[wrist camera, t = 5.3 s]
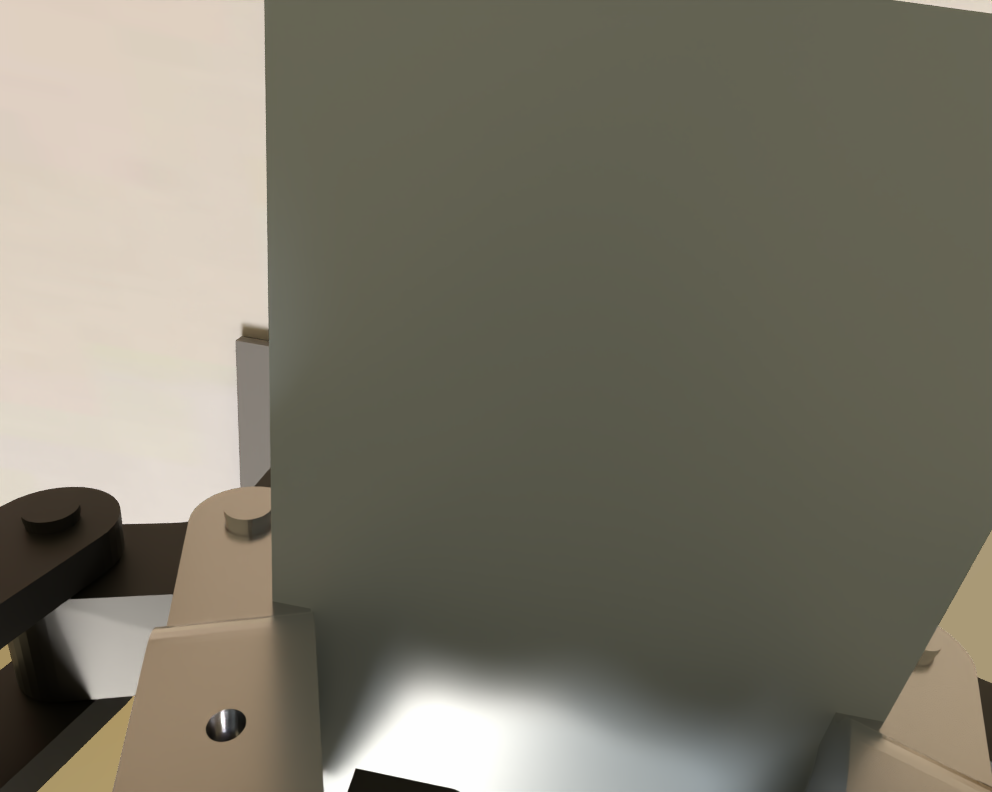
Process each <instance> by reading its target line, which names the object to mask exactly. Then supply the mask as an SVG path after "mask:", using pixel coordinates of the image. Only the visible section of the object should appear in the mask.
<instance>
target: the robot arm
mask: <svg viewBox="0 0 992 792" xmlns="http://www.w3.org/2000/svg"><path fill="white" fill-rule="evenodd" d="M7 644H8V646H9V650H10V655H11V659H12V662H10V663H9V664H8V665H6V666H5V667H4V668H2V669H1V670H0V792H37V791H38V790H39V789H40V788H41V787H42V786H43V785H44V784H45V783H46V782H47V781H48V780H49V779H50V778H51V777H52V776H53V775H54V774H55V773H56V772H57V771H58V770H59V769H60V768H61V767H62V766H63V765H64V764H66V763H67V762H68V761H69V760H70V759H71V757H73V756H74V755H75V754H76V753H77V752H78V751H79V750H80V749H81V748H82V747H83V746H84V745H85V744H86V743H87V742H88V741H89V740H90V739H91V738H92V737H93V736H94V735H95V734H96V733H97V732H98V731H99V730H100V729H101V728H102V727H103V726H104V725H105V724H106V723H107V722H108V721H109V720H110V719H111V718H112V717H113V716H114V715H115V714H116V713H117V712H118V711H120V710H121V708H123V707H124V706H125V705H126V704H127V702H128V701H129V700H130V699H131V698H132V696H135V698H134V702H133V707H132V711H131V715H130V719H129V724H128V728H127V732H126V737H125V741H124V745H123V749H122V753H121V758H120V762H119V766H118V771H117V775H116V779H115V783H114V788H113V792H324V785H323V766H322V748H321V730H320V712H319V693H318V675H317V657H316V638H315V621H314V612H313V611H311V609H310V608H305V607H300V606H294V605H289V604H284V603H279V602H274V601H272V541H271V467H270V469H269V470H268V471H267V472H266V473H265V474H264V476H263V477H262V478H261V479H260V480H259V481H258V482H257V484H256V485H255V486H254V487H241V488H235V489H231V490H227V491H223V492H221V493H218V494H216V495H213V496H212V497H210V498H208V499H206V500H205V501H203V502H202V503H200V504H199V505H198V506H197V507H196V508H195V509H194V511H193V512H192V514H191V515H190V518H189V521H188V522H182V523H158V524H122V518H121V510H120V506H119V503H118V501H117V500H116V499H115V498H114V497H113V496H111V495H110V494H108V493H106V492H103V491H100V490H97V489H92V488H85V487H62V488H55V489H48V490H44V491H39V492H35V493H32V494H28V495H26V496H23V497H20V498H18V499H15V500H13V501H11V502H9V503H7V504H5V505H3V506H1V507H0V649H1V648H3V647H4V646H5V645H7ZM348 792H460V791H458V790H456V789H453V788H448V787H443V786H438V785H434V784H429V783H424V782H419V781H415V780H410V779H405V778H400V777H396V776H391V775H386V774H381V773H377V772H372V771H367V770H362V769H358V768H355V771H354V774H353V777H352V780H351V783H350V786H349V789H348ZM805 792H992V683H990V682H987V681H985V680H983V679H980V678H978V677H977V672H976V668H975V665H974V663H973V661H972V659H971V657H970V656H969V654H968V653H967V652H966V650H965V649H964V648H963V647H962V646H961V645H960V643H959V642H958V641H956V640H955V639H954V638H953V637H952V636H951V635H950V634H949V633H947V632H946V631H945V630H943V629H942V628H941V627H939V626H938V627H937V629H936V630H935V632H934V634H933V636H932V638H931V639H930V641H929V643H928V645H927V647H926V648H925V650H924V652H923V654H922V656H921V657H920V659H919V661H918V663H917V664H916V666H915V668H914V670H913V672H912V673H911V675H910V677H909V679H908V681H907V682H906V684H905V686H904V688H903V689H902V691H901V693H900V695H899V697H898V698H897V700H896V702H895V704H894V706H893V707H892V709H891V711H890V713H889V715H888V716H887V718H886V720H885V722H882V721H877V720H872V719H867V718H862V717H857V716H852V715H847V714H842V713H837V712H835V714H834V716H833V718H832V720H831V722H830V724H829V726H828V728H827V730H826V732H825V734H824V736H823V738H822V740H821V742H820V744H819V746H818V751H817V756H816V760H815V764H814V768H813V771H812V774H811V777H810V780H809V783H808V786H807V788H806V791H805Z"/></svg>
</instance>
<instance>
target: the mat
mask: <svg viewBox="0 0 992 792" xmlns="http://www.w3.org/2000/svg"><path fill="white" fill-rule="evenodd" d="M236 366H237V396H238V426H239V455H240V485H241V487H254V486H255V485H256V484H257V482H258V481H259V480H260V479H261V478H262V477H263V476H264V474H265V473H266V472H267V471H268V470H269V469H270V467H271V465H270V389H269V341H266V340H260V339H254V338H248V337H243V336H242V337H240V338H239V339H237V340H236Z"/></svg>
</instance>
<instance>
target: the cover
mask: <svg viewBox="0 0 992 792" xmlns="http://www.w3.org/2000/svg"><path fill="white" fill-rule="evenodd" d="M264 8H265V85H266V160H267V237H268V313H269V389H270V465H271V541H272V601H274V602H279V603H284V604H289V605H294V606H300V607H305V608H310V609H311V611H313V612H314V621H315V638H316V657H317V675H318V693H319V712H320V730H321V748H322V766H323V785H324V792H348V789H349V786H350V783H351V780H352V777H353V774H354V771H355V768H358V769H362V770H367V771H372V772H377V773H381V774H386V775H391V776H396V777H400V778H405V779H410V780H415V781H419V782H424V783H429V784H434V785H438V786H443V787H448V788H453V789H456V790H458V791H460V792H805V791H806V788H807V786H808V783H809V780H810V777H811V774H812V771H813V768H814V764H815V760H816V756H817V751H818V746H819V744H820V742H821V740H822V738H823V736H824V734H825V732H826V730H827V728H828V726H829V724H830V722H831V720H832V718H833V716H834V714H835V712H837V713H842V714H847V715H852V716H857V717H862V718H867V719H872V720H877V721H882V722H885V720H886V718H887V716H888V715H889V713H890V711H891V709H892V707H893V706H894V704H895V702H896V700H897V698H898V697H899V695H900V693H901V691H902V689H903V688H904V686H905V684H906V682H907V681H908V679H909V677H910V675H911V673H912V672H913V670H914V668H915V666H916V664H917V663H918V661H919V659H920V657H921V656H922V654H923V652H924V650H925V648H926V647H927V645H928V643H929V641H930V639H931V638H932V636H933V634H934V632H935V630H936V629H937V627H938V625H939V623H940V621H941V620H942V618H943V616H944V614H945V613H946V611H947V609H948V607H949V605H950V604H951V602H952V600H953V598H954V596H955V595H956V593H957V591H958V589H959V587H960V585H961V584H962V582H963V580H964V578H965V577H966V575H967V573H968V571H969V570H970V568H971V566H972V564H973V562H974V561H975V559H976V557H977V555H978V554H979V552H980V550H981V548H982V546H983V545H984V543H985V541H986V539H987V537H988V536H989V534H990V532H991V530H992V14H990V13H983V12H976V11H968V10H961V9H954V8H946V7H939V6H932V5H924V4H917V3H910V2H902V1H895V0H264Z"/></svg>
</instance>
